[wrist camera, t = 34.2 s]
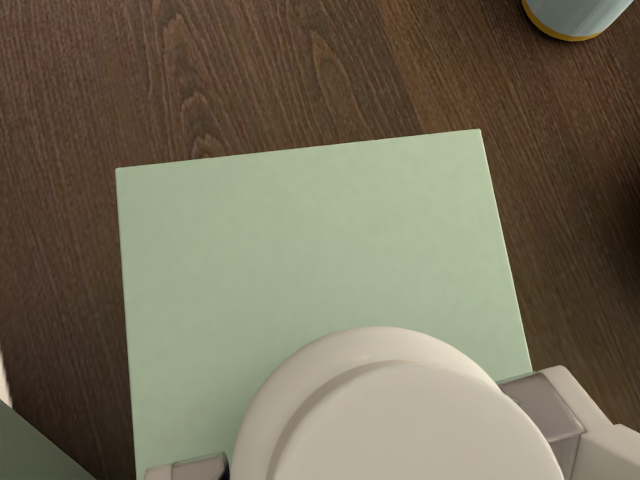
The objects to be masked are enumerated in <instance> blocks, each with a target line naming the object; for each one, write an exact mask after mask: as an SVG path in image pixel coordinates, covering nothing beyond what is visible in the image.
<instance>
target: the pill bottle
mask: <svg viewBox="0 0 640 480" xmlns="http://www.w3.org/2000/svg"><path fill="white" fill-rule="evenodd" d="M230 480H564V477H563V474H562V471H561V469H560V467H559V464H558V462H557V460H556V458H555V456H554V454H553V452H552V450H551V447H550V445H549V444H548V442H547V441H546V439H545V438H544V436H543V435H542V433H541V432H540V430H539V429H538V427H537V426H536V425H535V424H534V422H533V421H532V420H531V419H530V418H529V416H528V415H527V414H526V413H525V412H524V411H523V410H522V409H521V408H520V407H519V406H518V405H517V404H516V403H515V402H514V401H513V400H512V399H510V398H509V397H508V396H507V395H505V394H504V393H503V392H502V391H501V390H500V388H499V387H498V386H497V384H496V383H495V382H494V381H493V380H492V379H491V378H490V377H489V375H488V374H487V373H486V372H485V371H484V370H483V369H482V368H481V367H480V366H479V365H477V364H476V363H475V362H474V361H473V360H471V359H470V358H469V357H467V356H466V355H465V354H463V353H462V352H460V351H459V350H457V349H456V348H454V347H452V346H451V345H449V344H447V343H445V342H443V341H441V340H439V339H436V338H434V337H432V336H429V335H427V334H424V333H420V332H417V331H413V330H408V329H404V328H398V327H387V326H370V327H361V328H353V329H347V330H342V331H338V332H334V333H331V334H329V335H326V336H324V337H321V338H319V339H316V340H314V341H312V342H310V343H309V344H307V345H305V346H304V347H302V348H300V349H299V350H297V351H296V352H294V353H293V354H292V355H291V356H290V357H288V358H287V359H286V360H285V361H284V362H282V363H281V364H280V365H279V366H278V367H277V368H276V369H275V370H274V371H273V372H272V373H271V374H270V375H269V377H268V378H267V379H266V380H265V382H264V383H263V384H262V386H261V387H260V388H259V390H258V391H257V392H256V394H255V395H254V396H253V398H252V400H251V401H250V403H249V406H248V408H247V410H246V413H245V416H244V419H243V422H242V424H241V427H240V430H239V433H238V436H237V440H236V443H235V447H234V452H233V457H232V462H231V472H230Z"/></svg>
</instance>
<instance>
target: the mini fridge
mask: <svg viewBox="0 0 640 480" xmlns="http://www.w3.org/2000/svg"><path fill="white" fill-rule="evenodd" d="M115 177H116V191H117V205H118V220H119V234H120V249H121V263H122V277H123V292H124V306H125V320H126V335H127V349H128V363H129V378H130V392H131V406H132V421H133V435H134V449H135V464H136V478H137V480H144V475H145V472H146V469H148V468H152V467H156V466H160V465H164V464H169V463H173V462H177V461H182V460H186V459H191V458H195V457H199V456H204V455H208V454H213V453H217V452H222V451H225V453H226V455H227V458H228V461H229V470H230V472H231V462H232V457H233V452H234V447H235V443H236V440H237V436H238V433H239V430H240V427H241V424H242V422H243V419H244V416H245V413H246V410H247V408H248V406H249V403H250V401H251V400H252V398H253V396H254V395H255V394H256V392H257V391H258V390H259V388H260V387H261V386H262V384H263V383H264V382H265V380H266V379H267V378H268V377H269V375H270V374H271V373H272V372H273V371H274V370H275V369H276V368H277V367H278V366H279V365H280V364H281V363H282V362H284V361H285V360H286V359H287V358H288V357H290V356H291V355H292V354H293V353H294V352H296V351H297V350H299V349H300V348H302V347H304V346H305V345H307V344H309V343H310V342H312V341H314V340H316V339H319V338H321V337H324V336H326V335H329V334H331V333H334V332H338V331H342V330H347V329H353V328H361V327H370V326H387V327H398V328H404V329H408V330H413V331H417V332H420V333H424V334H427V335H429V336H432V337H434V338H436V339H439V340H441V341H443V342H445V343H447V344H449V345H451V346H452V347H454V348H456V349H457V350H459V351H460V352H462V353H463V354H465V355H466V356H467V357H469V358H470V359H471V360H473V361H474V362H475V363H476V364H477V365H479V366H480V367H481V368H482V369H483V370H484V371H485V372H486V373H487V374H488V375H489V377H490V378H491V379H492V380H493V381H494V382H496V381H499V380H503V379H507V378H511V377H514V376H518V375H522V374H525V373H529V372H533V371H532V366H531V362H530V357H529V353H528V348H527V343H526V339H525V334H524V330H523V325H522V320H521V316H520V311H519V306H518V302H517V297H516V293H515V288H514V283H513V279H512V274H511V269H510V265H509V260H508V256H507V251H506V246H505V242H504V237H503V233H502V228H501V223H500V219H499V214H498V209H497V205H496V200H495V196H494V191H493V186H492V182H491V177H490V173H489V168H488V163H487V159H486V154H485V149H484V145H483V140H482V136H481V131H480V129H473V130H463V131H454V132H445V133H436V134H427V135H417V136H408V137H399V138H390V139H381V140H372V141H362V142H353V143H344V144H335V145H326V146H317V147H307V148H298V149H289V150H280V151H271V152H261V153H252V154H243V155H234V156H225V157H216V158H206V159H197V160H188V161H179V162H170V163H160V164H151V165H142V166H133V167H124V168H117V169H115Z"/></svg>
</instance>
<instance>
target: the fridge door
mask: <svg viewBox="0 0 640 480" xmlns="http://www.w3.org/2000/svg"><path fill="white" fill-rule="evenodd" d="M0 480H97V479H96V478H94V477H93V476H92V475H91V474H90V473H88V472H87V471H86V470H85V469H83V468H82V467H81V466H80V465H79V464H77V463H76V462H75V461H74V460H73V459H71V458H70V457H69V456H68V455H67V454H65V453H64V452H63V451H62V450H61V449H59V448H58V447H57V446H56V445H55V444H53V443H52V442H51V441H50V440H49V439H47V438H46V437H45V436H44V435H43V434H41V433H40V432H39V431H38V430H37V429H35V428H34V427H33V426H32V425H31V424H29V423H28V422H27V421H26V420H25V419H23V418H22V417H21V416H20V415H19V414H17V413H16V412H15V411H14V410H13V409H11V408H10V407H9V406H8V405H7V404H5V403H4V402H3V401H1V400H0Z"/></svg>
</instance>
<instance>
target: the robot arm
mask: <svg viewBox="0 0 640 480" xmlns="http://www.w3.org/2000/svg"><path fill="white" fill-rule="evenodd" d="M495 383H496V384H497V386H498V387H499V388H500V390H501V391H502V392H503V393H504V394H505V395H507V396H508V397H509V398H510V399H512V400H513V401H514V402H515V403H516V404H517V405H518V406H519V407H520V408H521V409H522V410H523V411H524V412H525V413H526V414H527V415H528V416H529V418H530V419H531V420H532V421H533V422H534V424H535V425H536V426H537V427H538V429H539V430H540V432H541V433H542V435H543V436H544V438H545V439H546V441H547V442H548V444H549V445H550V447H551V450H552V452H553V454H554V456H555V458H556V460H557V462H558V464H559V467H560V469H561V471H562V474H563V477H564V480H640V433H638V432H636V431H634V430H632V429H630V428H628V427H626V426H624V425H622V424H617V425H613V424H612V423H611V422H610V421H609V420H608V418H607V417H606V416H605V415H604V413H603V412H602V411H601V410H600V409H599V407H598V406H597V405H596V404H595V402H594V401H593V400H592V399H591V398H590V396H589V395H588V394H587V393H586V391H585V390H584V389H583V388H582V387H581V385H580V384H579V383H578V382H577V380H576V379H575V378H574V377H573V376H572V374H571V373H570V372H569V371H568V369H567V368H565V367H564V366H562V365H559V366H555V367H551V368H547V369H543V370H539V371H533V372H529V373H525V374H522V375H518V376H514V377H511V378H507V379H503V380H499V381H496V382H495ZM144 480H230V470H229V461H228V458H227V455H226V453H225V451H222V452H217V453H213V454H208V455H204V456H199V457H195V458H191V459H186V460H182V461H177V462H173V463H169V464H164V465H160V466H156V467H152V468H148V469H146V472H145V475H144Z"/></svg>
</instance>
